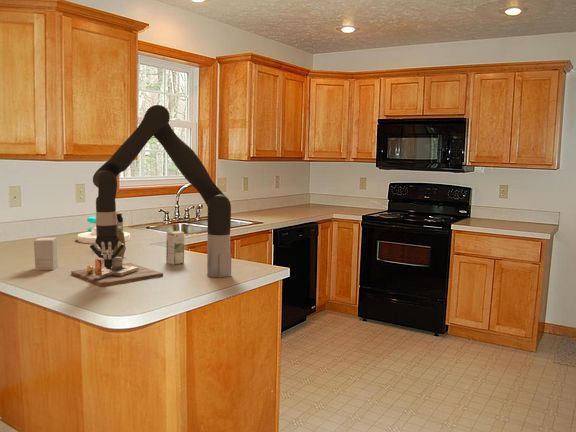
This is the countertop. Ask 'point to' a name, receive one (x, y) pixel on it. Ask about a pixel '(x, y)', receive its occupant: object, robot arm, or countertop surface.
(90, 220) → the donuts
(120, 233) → the squeeze bottle
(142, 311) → the countertop surface
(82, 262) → the countertop surface
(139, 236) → the countertop surface
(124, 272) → the square frame with handle
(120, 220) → the travel mug
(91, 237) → the cake
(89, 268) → the gold rounded piece
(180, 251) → the syrup box
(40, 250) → the supplement box
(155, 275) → the post board
